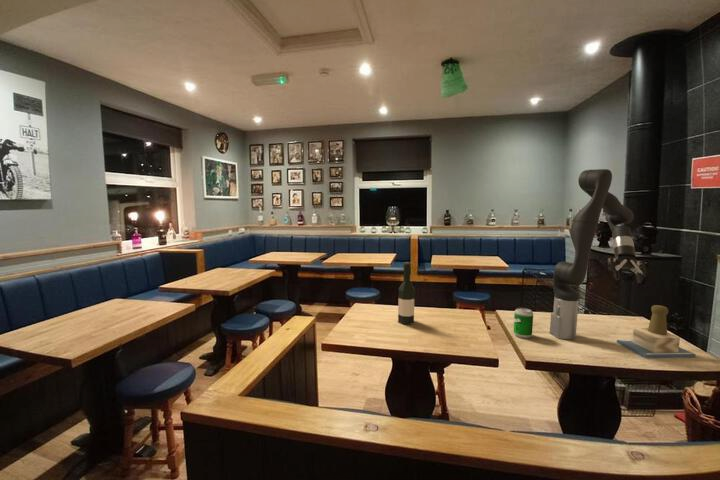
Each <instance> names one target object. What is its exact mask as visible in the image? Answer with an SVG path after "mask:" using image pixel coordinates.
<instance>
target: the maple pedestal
mask: <svg viewBox="0 0 720 480" xmlns="http://www.w3.org/2000/svg"><path fill="white" fill-rule="evenodd" d="M631 340H632V342H634V343H636V344H638V345H640V346H641V347H643V348H645V349H647V350H649V351H651V352H653V353H659V352H678V350H679V347H680V342H681V341H680V340H681V338H680V337H679V336H677V335H675V334H674V333H673V334H672V333H670V332H668V331H667V335H659V334H654V333H651V332H649V331H648V327H633V332H632V339H631Z"/></svg>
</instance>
